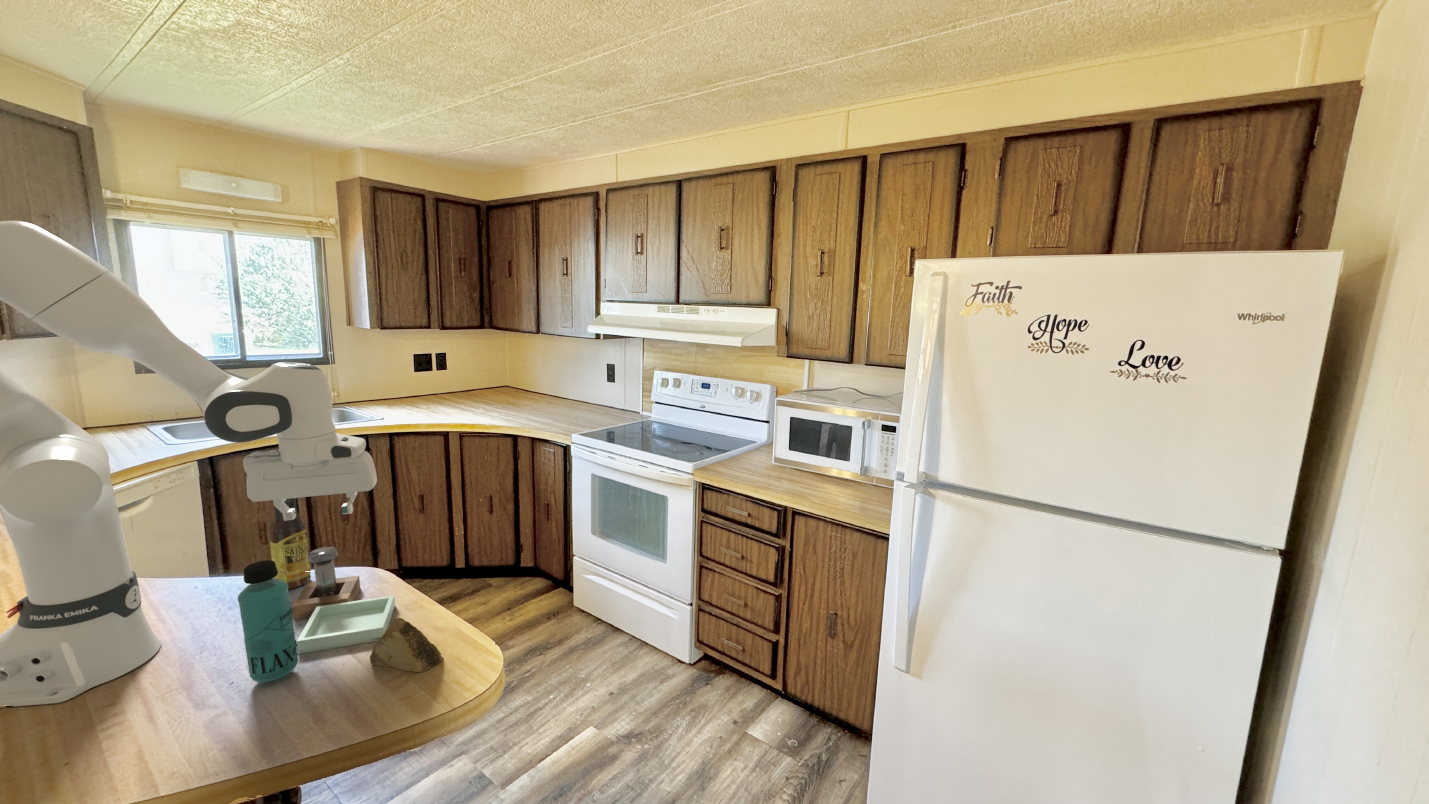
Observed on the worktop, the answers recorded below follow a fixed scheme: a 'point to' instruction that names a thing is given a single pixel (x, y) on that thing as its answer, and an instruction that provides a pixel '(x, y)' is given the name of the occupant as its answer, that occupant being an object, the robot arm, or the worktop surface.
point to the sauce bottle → (290, 547)
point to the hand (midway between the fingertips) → (319, 516)
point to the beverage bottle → (267, 623)
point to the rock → (405, 649)
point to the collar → (310, 599)
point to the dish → (346, 624)
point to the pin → (324, 570)
